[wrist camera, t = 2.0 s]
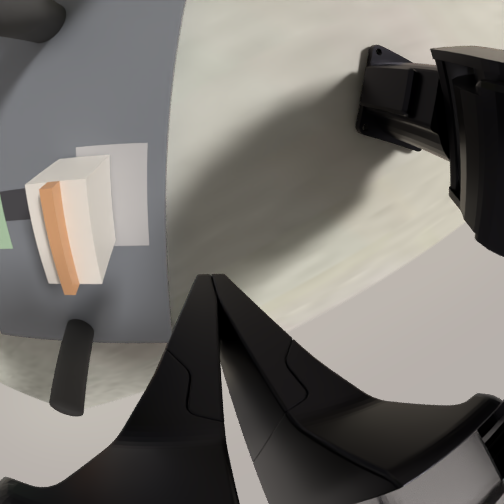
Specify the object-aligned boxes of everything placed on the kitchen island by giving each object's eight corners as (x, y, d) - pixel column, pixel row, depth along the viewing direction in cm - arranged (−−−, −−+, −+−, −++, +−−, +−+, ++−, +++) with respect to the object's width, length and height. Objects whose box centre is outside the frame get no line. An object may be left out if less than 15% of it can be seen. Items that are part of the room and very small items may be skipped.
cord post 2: (89, 319, 17) (75, 402, 12) (97, 339, 19) (88, 417, 13) (62, 318, 17) (43, 397, 11) (71, 338, 18) (58, 414, 12)
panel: (188, -10, 9) (189, -18, 8) (172, 331, 21) (172, 342, 20) (-44, 50, 4) (-54, 51, 3) (5, 324, 17) (1, 334, 16)
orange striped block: (109, 154, 12) (79, 185, 8) (115, 240, 15) (99, 295, 11) (59, 158, 11) (15, 192, 7) (70, 241, 14) (43, 294, 10)
